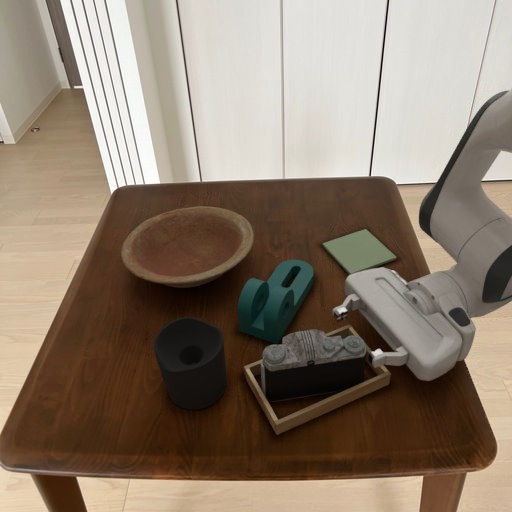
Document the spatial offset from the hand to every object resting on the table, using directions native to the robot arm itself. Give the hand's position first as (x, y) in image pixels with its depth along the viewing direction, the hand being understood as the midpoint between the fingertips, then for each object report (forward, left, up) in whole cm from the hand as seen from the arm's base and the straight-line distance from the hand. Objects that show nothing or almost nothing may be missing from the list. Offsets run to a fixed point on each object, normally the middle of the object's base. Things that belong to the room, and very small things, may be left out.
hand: (352, 337), depth 72 cm
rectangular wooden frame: (0, +6, -7) cm, 9 cm away
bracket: (+17, +3, -7) cm, 18 cm away
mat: (+22, -16, -7) cm, 28 cm away
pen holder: (+7, +22, -7) cm, 24 cm away
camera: (+1, +6, -7) cm, 9 cm away
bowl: (+32, +14, -7) cm, 35 cm away
